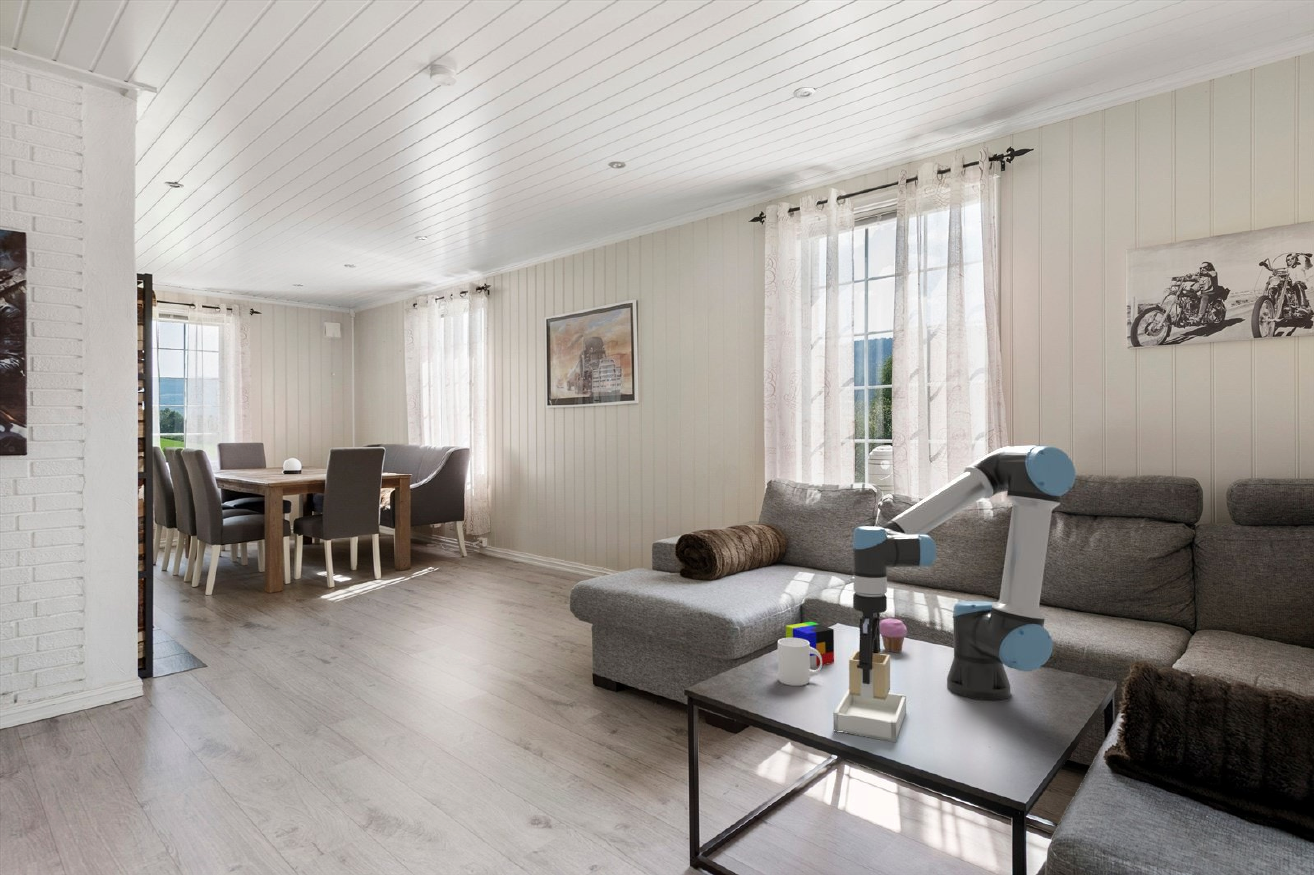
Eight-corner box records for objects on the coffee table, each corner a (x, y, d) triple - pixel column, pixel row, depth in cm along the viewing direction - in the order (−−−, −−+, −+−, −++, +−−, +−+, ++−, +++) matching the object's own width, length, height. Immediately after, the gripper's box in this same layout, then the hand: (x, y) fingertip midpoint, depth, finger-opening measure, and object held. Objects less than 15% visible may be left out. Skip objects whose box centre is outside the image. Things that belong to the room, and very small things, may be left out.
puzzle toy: (807, 668, 200) (807, 633, 200) (786, 658, 209) (785, 625, 209) (834, 663, 204) (833, 629, 204) (811, 654, 213) (811, 621, 213)
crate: (906, 712, 166) (905, 694, 166) (895, 742, 149) (895, 723, 149) (849, 703, 172) (849, 686, 172) (833, 731, 155) (833, 712, 155)
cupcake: (910, 655, 211) (909, 622, 211) (881, 654, 212) (880, 621, 212) (903, 646, 220) (903, 615, 220) (875, 646, 221) (875, 614, 221)
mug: (824, 687, 184) (824, 647, 184) (779, 686, 185) (779, 646, 185) (819, 676, 192) (819, 638, 192) (776, 675, 193) (776, 637, 193)
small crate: (890, 689, 163) (890, 655, 163) (885, 700, 156) (885, 664, 156) (855, 683, 166) (855, 650, 166) (849, 694, 159) (849, 659, 159)
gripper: (861, 583, 172) (861, 675, 172) (844, 600, 153) (844, 703, 153) (892, 586, 169) (892, 679, 169) (879, 604, 150) (879, 708, 150)
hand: (870, 690), depth 161 cm, fingers closed on small crate, 8 cm apart
